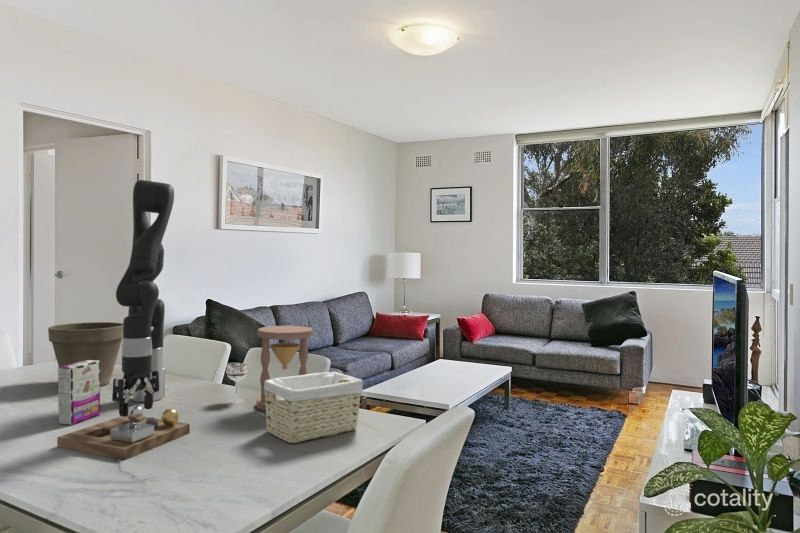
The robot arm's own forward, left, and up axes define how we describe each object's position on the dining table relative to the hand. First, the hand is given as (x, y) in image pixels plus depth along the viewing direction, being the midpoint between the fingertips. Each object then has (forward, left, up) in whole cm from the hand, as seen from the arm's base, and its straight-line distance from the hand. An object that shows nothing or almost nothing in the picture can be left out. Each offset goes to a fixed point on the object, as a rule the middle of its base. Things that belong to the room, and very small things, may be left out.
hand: (136, 412), depth 156 cm
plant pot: (-34, -57, -5) cm, 67 cm away
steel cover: (+11, +10, -2) cm, 15 cm away
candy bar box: (-1, -22, -5) cm, 23 cm away
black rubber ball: (+4, +9, -3) cm, 10 cm away
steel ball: (0, 0, -3) cm, 3 cm away
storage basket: (-19, +44, -5) cm, 49 cm away
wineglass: (-37, +6, -5) cm, 38 cm away
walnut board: (+7, +4, -5) cm, 9 cm away
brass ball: (-1, +11, -3) cm, 11 cm away
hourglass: (-39, +23, -5) cm, 45 cm away
